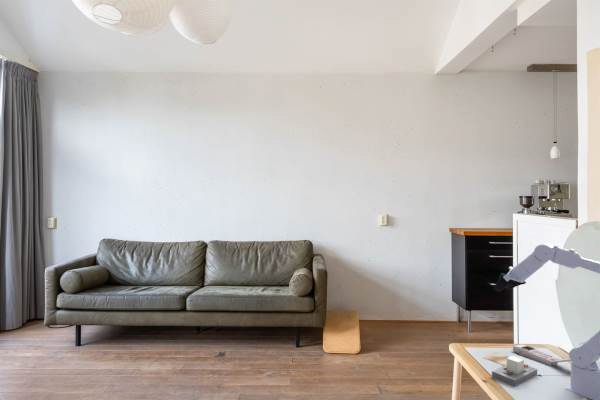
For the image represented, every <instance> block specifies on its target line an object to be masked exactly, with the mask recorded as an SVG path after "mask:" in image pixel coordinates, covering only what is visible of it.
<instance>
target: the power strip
mask: <svg viewBox="0 0 600 400" xmlns="http://www.w3.org/2000/svg"><path fill="white" fill-rule="evenodd" d="M506 368H507V365H505V366H504V365H502V366H501V367H498V368H496V369H493V370H492V371H491V377H492V378H494V379H497V380H499V381H501V382H503V383H506V384H509V385H511V386H514V387H517V386H519V385H520V384H523V383H524V382H526V381H529V380H530V379H531V378H534V377H535V376H538V368H535V367H532V366H530V365H529V364H528V363H525V362H524V370H523V374H521V375H517V374H515V373H512V372H509V371H507V370H506Z"/></svg>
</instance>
